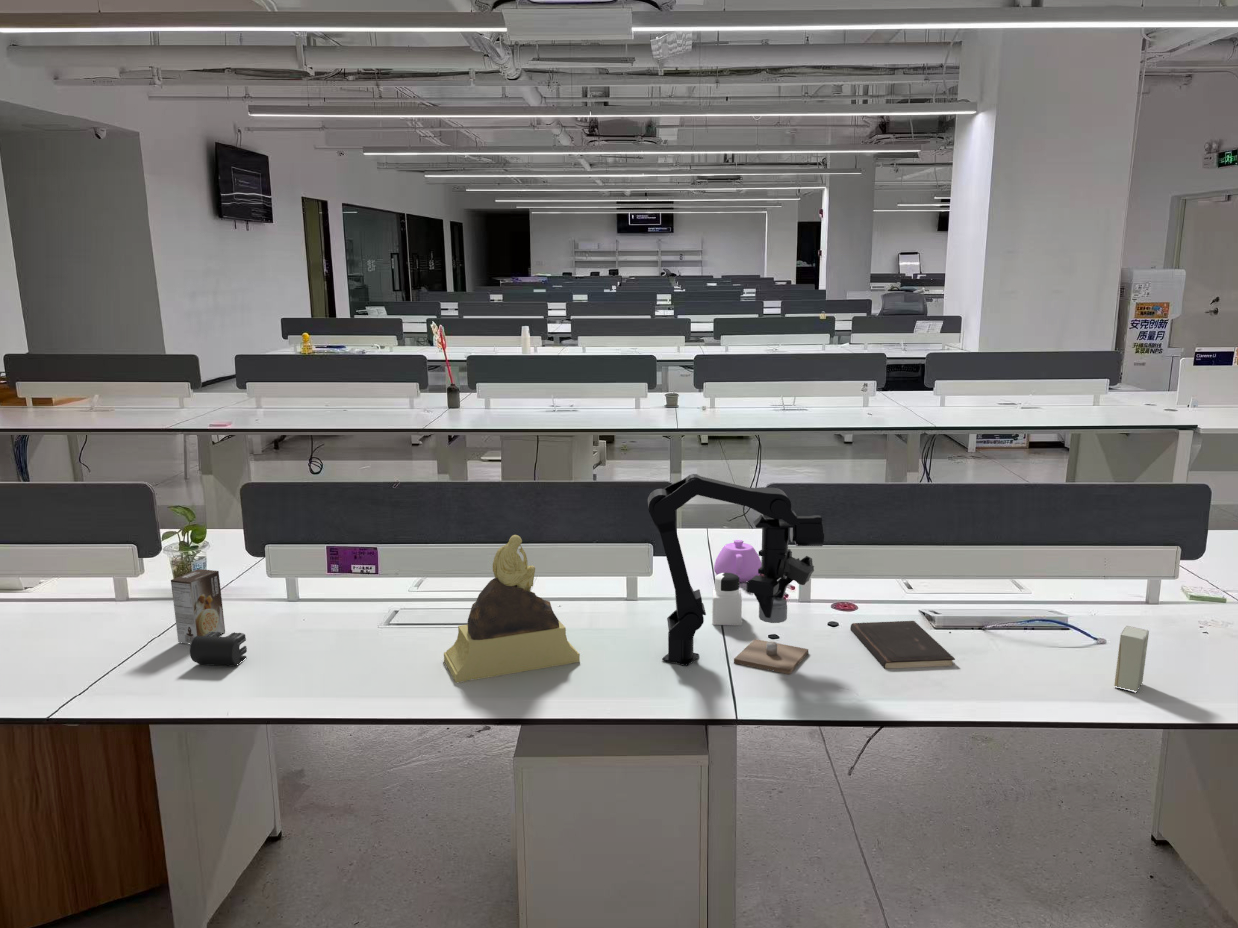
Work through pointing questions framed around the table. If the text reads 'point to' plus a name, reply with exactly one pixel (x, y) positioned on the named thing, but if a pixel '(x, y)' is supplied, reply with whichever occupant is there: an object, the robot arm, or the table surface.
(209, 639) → the end cap
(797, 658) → the stud plate
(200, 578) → the coffee box
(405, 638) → the table surface
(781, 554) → the robot arm
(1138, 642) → the skincare box
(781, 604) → the grey short cylinder
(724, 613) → the medicine bottle
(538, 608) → the seated figure statue
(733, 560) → the teapot
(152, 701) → the table surface
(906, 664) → the hardcover book
